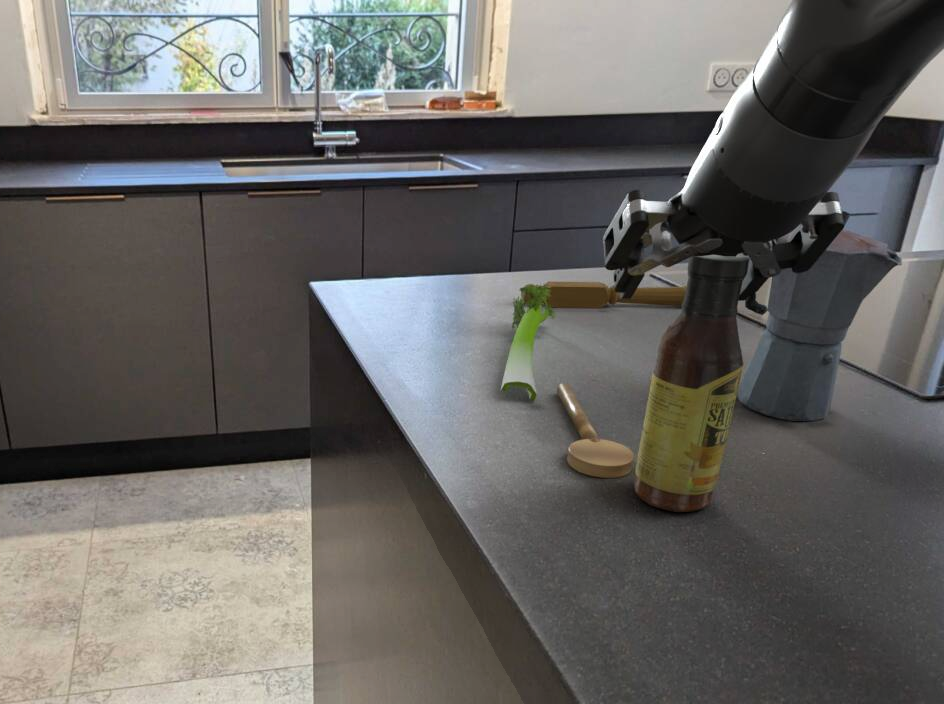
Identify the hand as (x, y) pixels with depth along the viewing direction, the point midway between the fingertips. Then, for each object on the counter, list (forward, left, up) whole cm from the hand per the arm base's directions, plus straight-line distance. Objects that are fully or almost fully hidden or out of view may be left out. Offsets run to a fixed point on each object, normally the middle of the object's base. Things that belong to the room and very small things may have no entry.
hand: (679, 289), depth 63 cm
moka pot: (-19, -18, -17) cm, 31 cm away
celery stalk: (+5, -32, -17) cm, 37 cm away
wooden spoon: (+3, -11, -17) cm, 20 cm away
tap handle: (-13, -57, -17) cm, 61 cm away
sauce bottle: (-1, +3, -17) cm, 17 cm away
